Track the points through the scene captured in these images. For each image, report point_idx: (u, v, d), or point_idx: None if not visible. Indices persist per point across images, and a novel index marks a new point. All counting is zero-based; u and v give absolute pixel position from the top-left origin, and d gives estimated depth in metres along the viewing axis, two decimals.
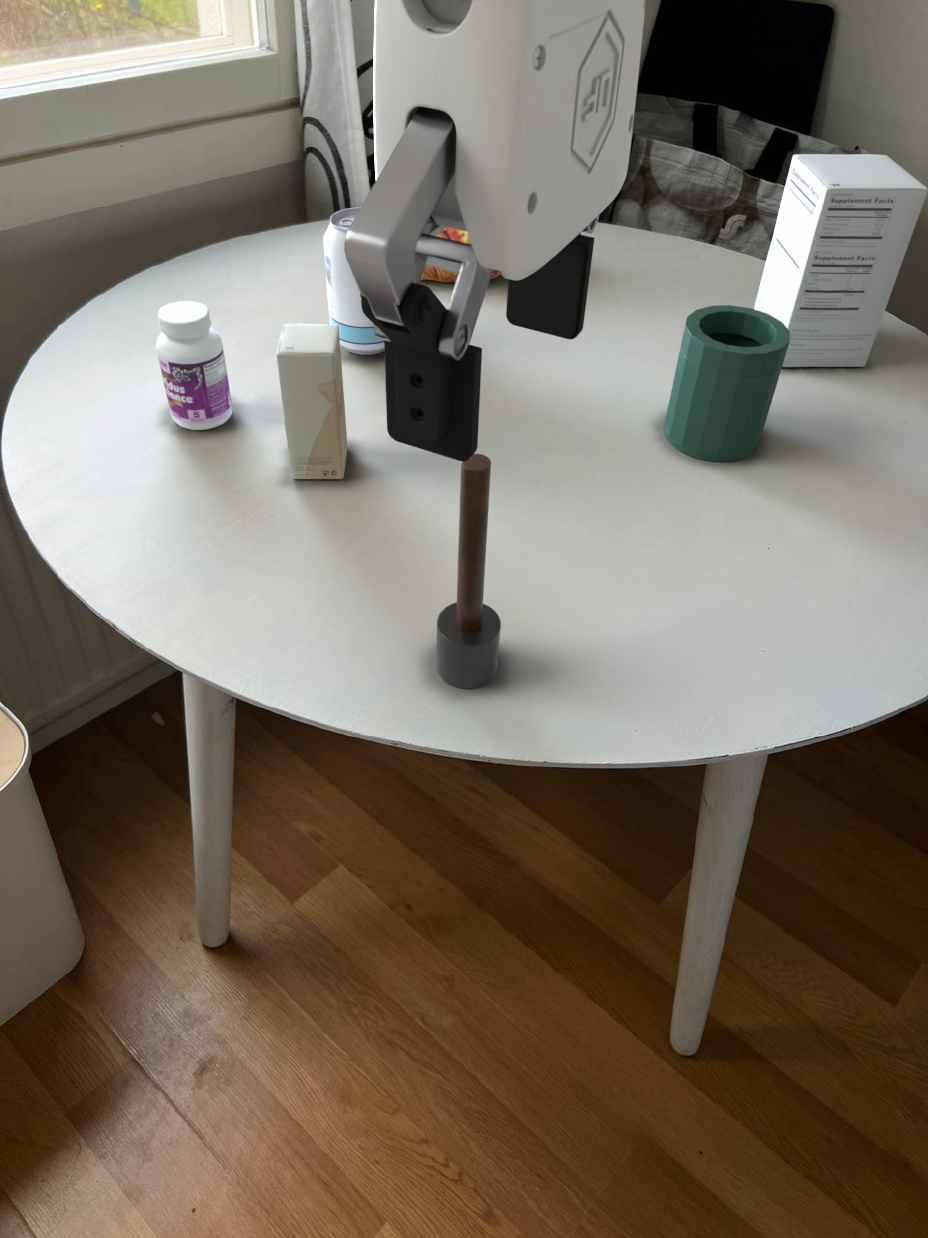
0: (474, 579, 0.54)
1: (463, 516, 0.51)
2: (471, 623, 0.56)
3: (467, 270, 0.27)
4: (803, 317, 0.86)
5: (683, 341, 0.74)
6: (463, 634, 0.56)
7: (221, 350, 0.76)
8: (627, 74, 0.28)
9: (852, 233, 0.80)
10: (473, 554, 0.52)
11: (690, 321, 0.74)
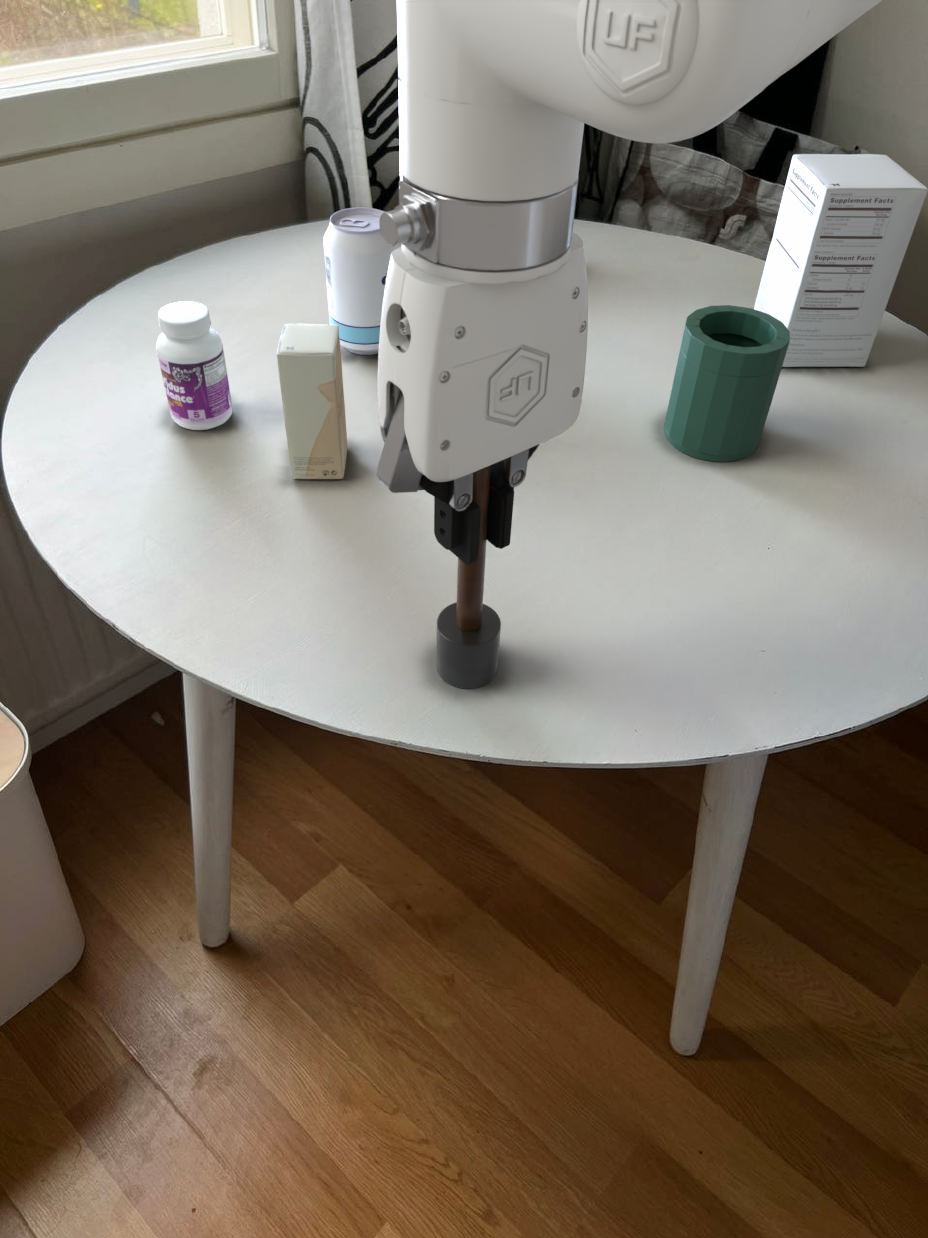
0: (474, 579, 0.54)
1: None
2: (471, 623, 0.56)
3: None
4: (803, 317, 0.86)
5: (683, 341, 0.74)
6: (463, 634, 0.56)
7: (221, 350, 0.76)
8: (560, 369, 0.44)
9: (852, 233, 0.80)
10: None
11: (690, 321, 0.74)
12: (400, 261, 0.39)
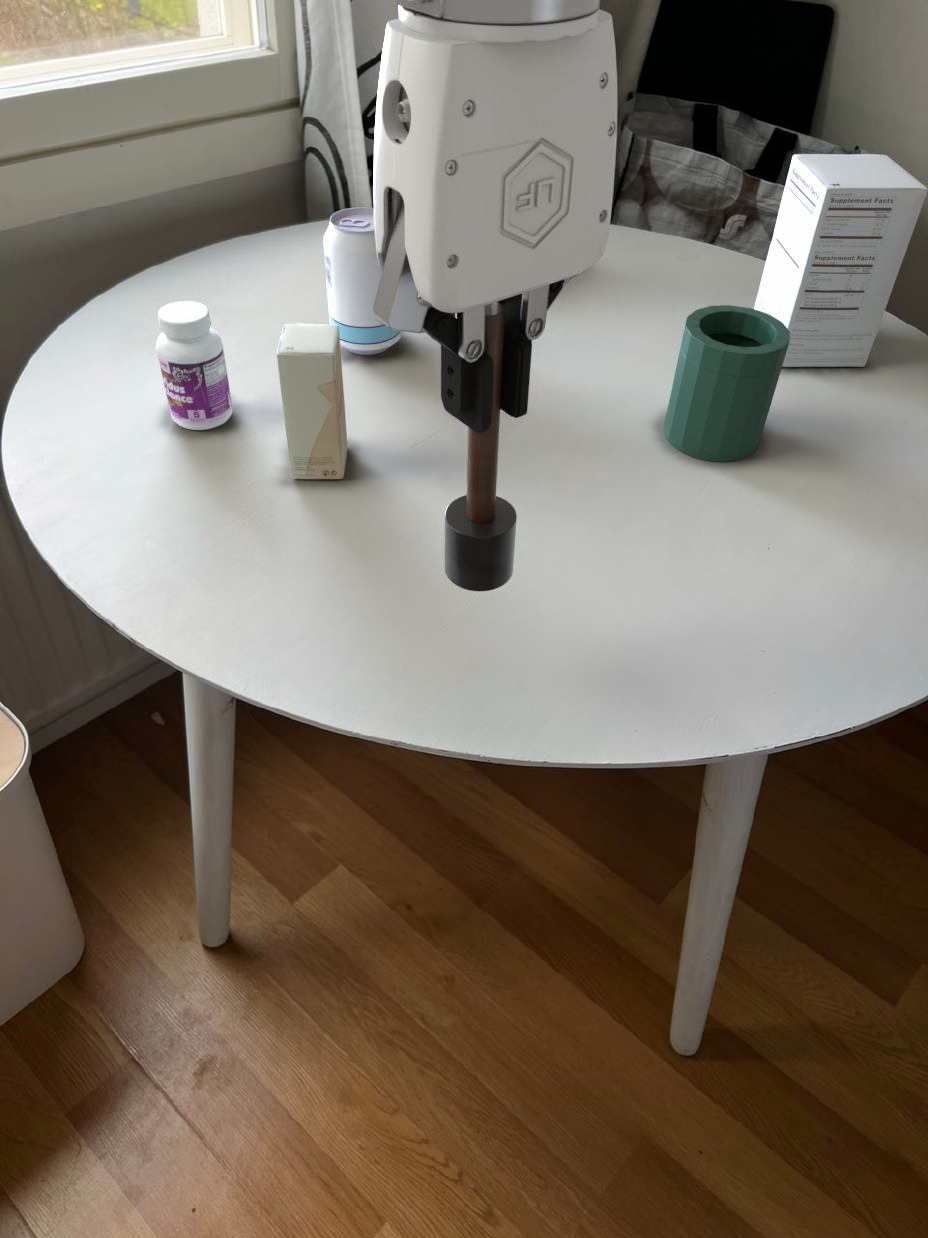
0: (486, 456, 0.47)
1: None
2: (483, 513, 0.50)
3: (459, 313, 0.40)
4: (803, 317, 0.86)
5: (683, 341, 0.74)
6: (474, 526, 0.50)
7: (221, 350, 0.76)
8: (585, 181, 0.38)
9: (852, 233, 0.80)
10: None
11: (690, 321, 0.74)
12: (398, 27, 0.33)
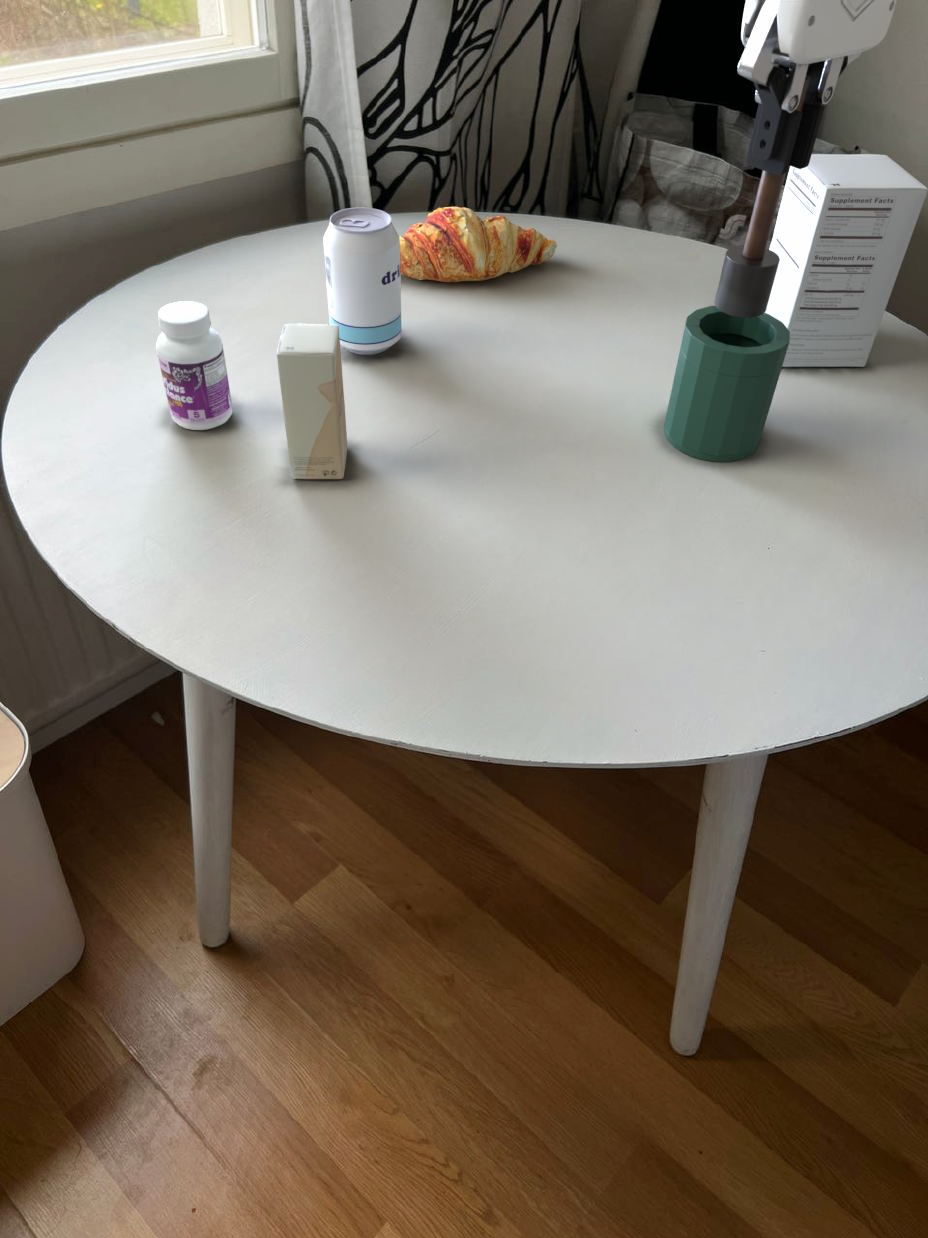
0: (772, 200, 0.66)
1: None
2: (759, 251, 0.68)
3: (792, 72, 0.58)
4: (803, 317, 0.86)
5: (683, 341, 0.74)
6: (751, 261, 0.68)
7: (221, 350, 0.76)
8: None
9: (852, 233, 0.80)
10: None
11: (690, 321, 0.74)
12: None
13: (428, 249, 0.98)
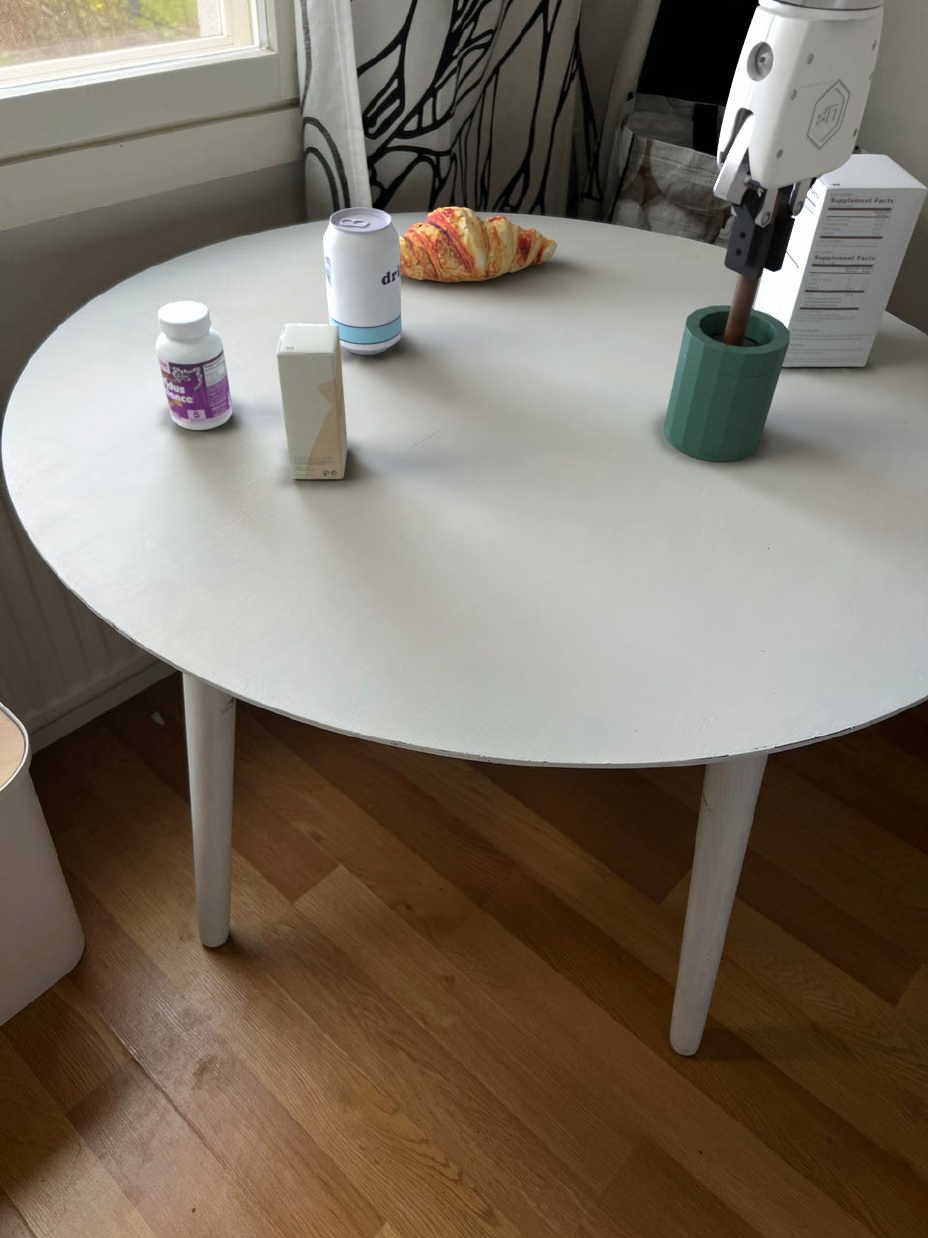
0: (748, 299, 0.71)
1: None
2: (737, 342, 0.74)
3: (763, 193, 0.64)
4: (803, 317, 0.86)
5: (683, 341, 0.74)
6: None
7: (221, 350, 0.76)
8: (852, 108, 0.62)
9: (852, 233, 0.80)
10: None
11: (690, 321, 0.74)
12: (767, 10, 0.57)
13: (428, 249, 0.98)
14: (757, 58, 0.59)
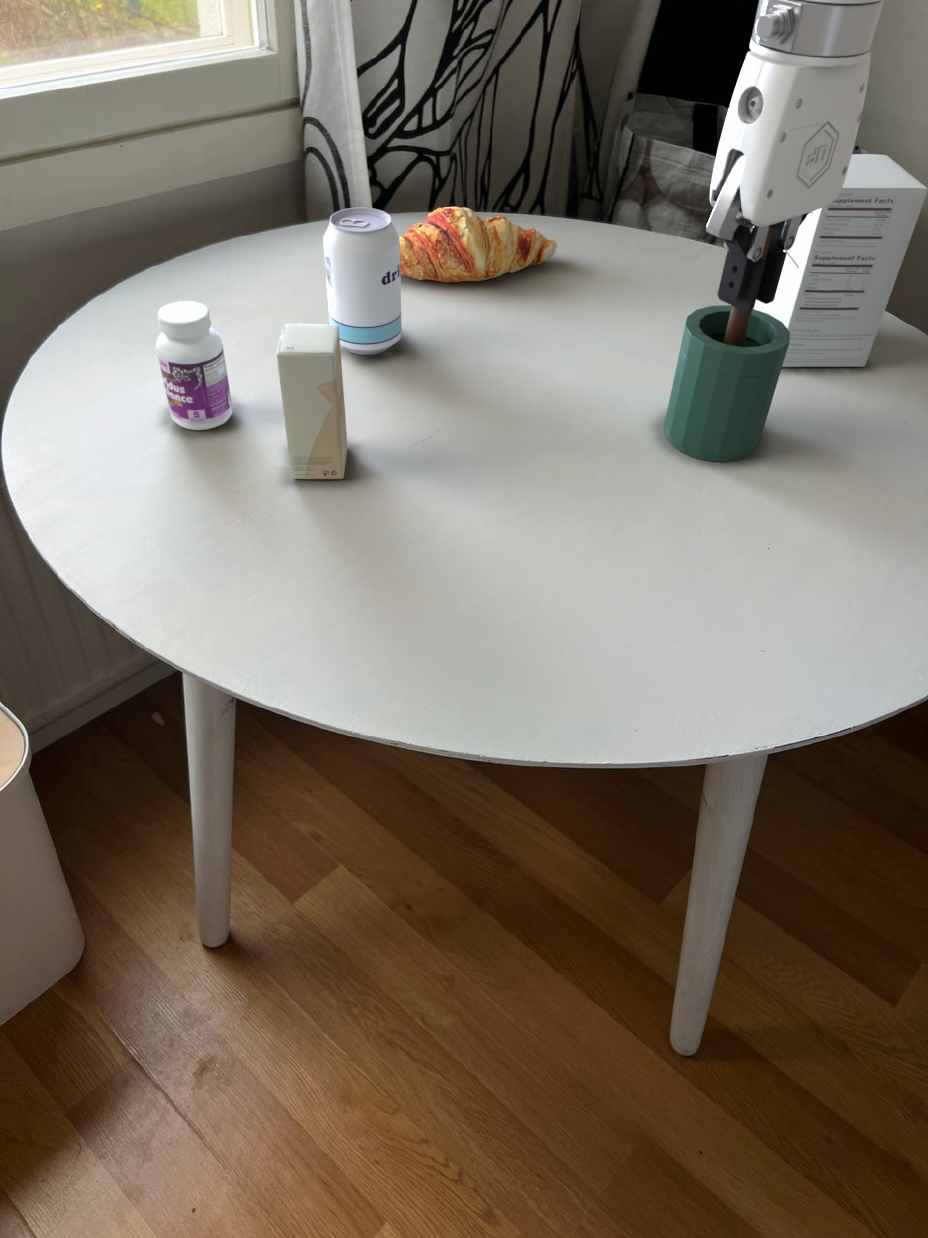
0: (741, 329, 0.73)
1: None
2: None
3: (755, 229, 0.66)
4: (803, 317, 0.86)
5: (683, 341, 0.74)
6: None
7: (221, 350, 0.76)
8: (841, 148, 0.64)
9: (852, 233, 0.80)
10: None
11: (690, 321, 0.74)
12: (757, 56, 0.59)
13: (428, 249, 0.98)
14: (748, 101, 0.61)
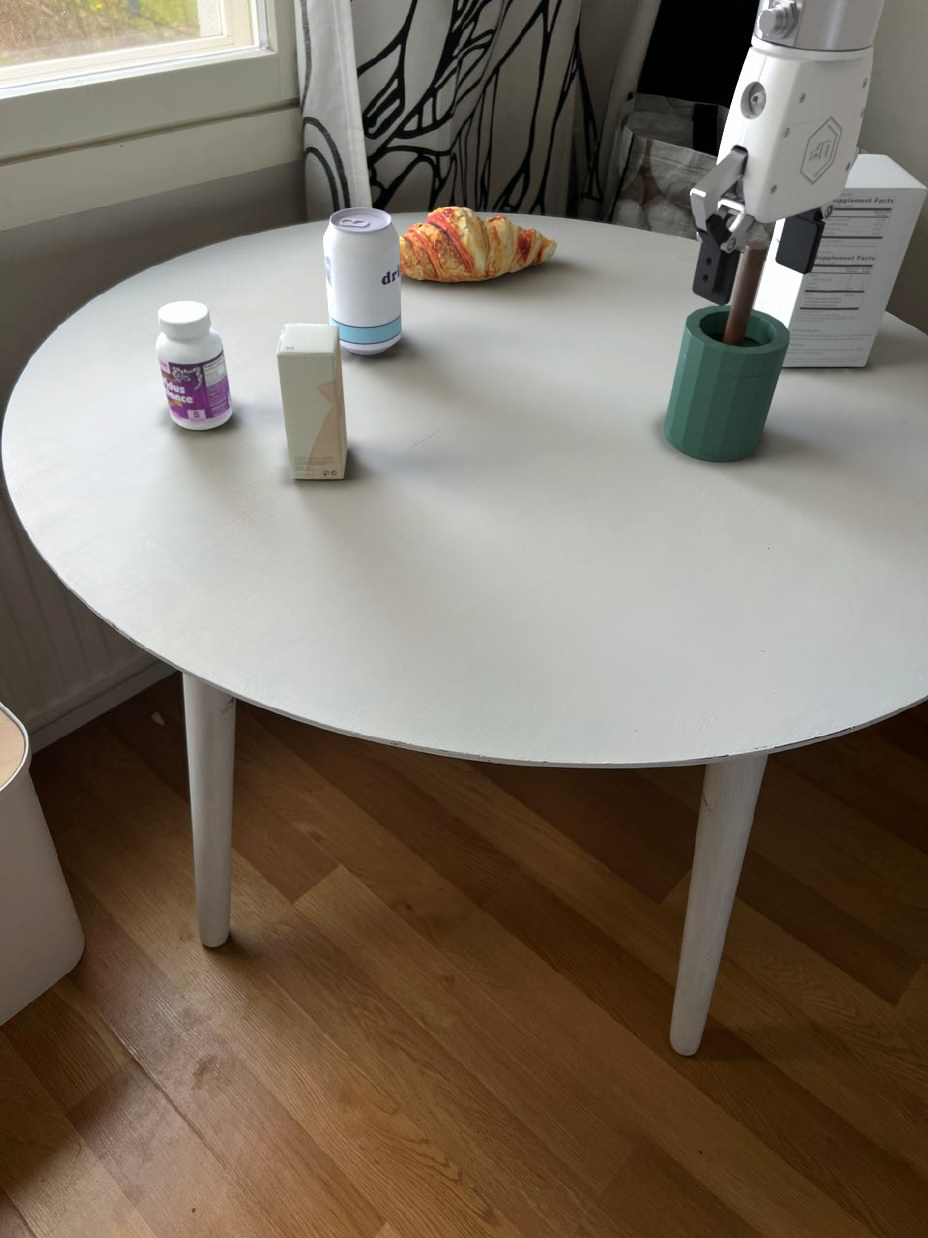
0: (737, 344, 0.74)
1: (740, 290, 0.71)
2: None
3: (741, 214, 0.63)
4: (803, 317, 0.86)
5: (683, 341, 0.74)
6: None
7: (221, 350, 0.76)
8: (844, 144, 0.63)
9: (852, 233, 0.80)
10: (741, 322, 0.72)
11: (690, 321, 0.74)
12: (760, 51, 0.58)
13: (428, 249, 0.98)
14: (750, 97, 0.60)
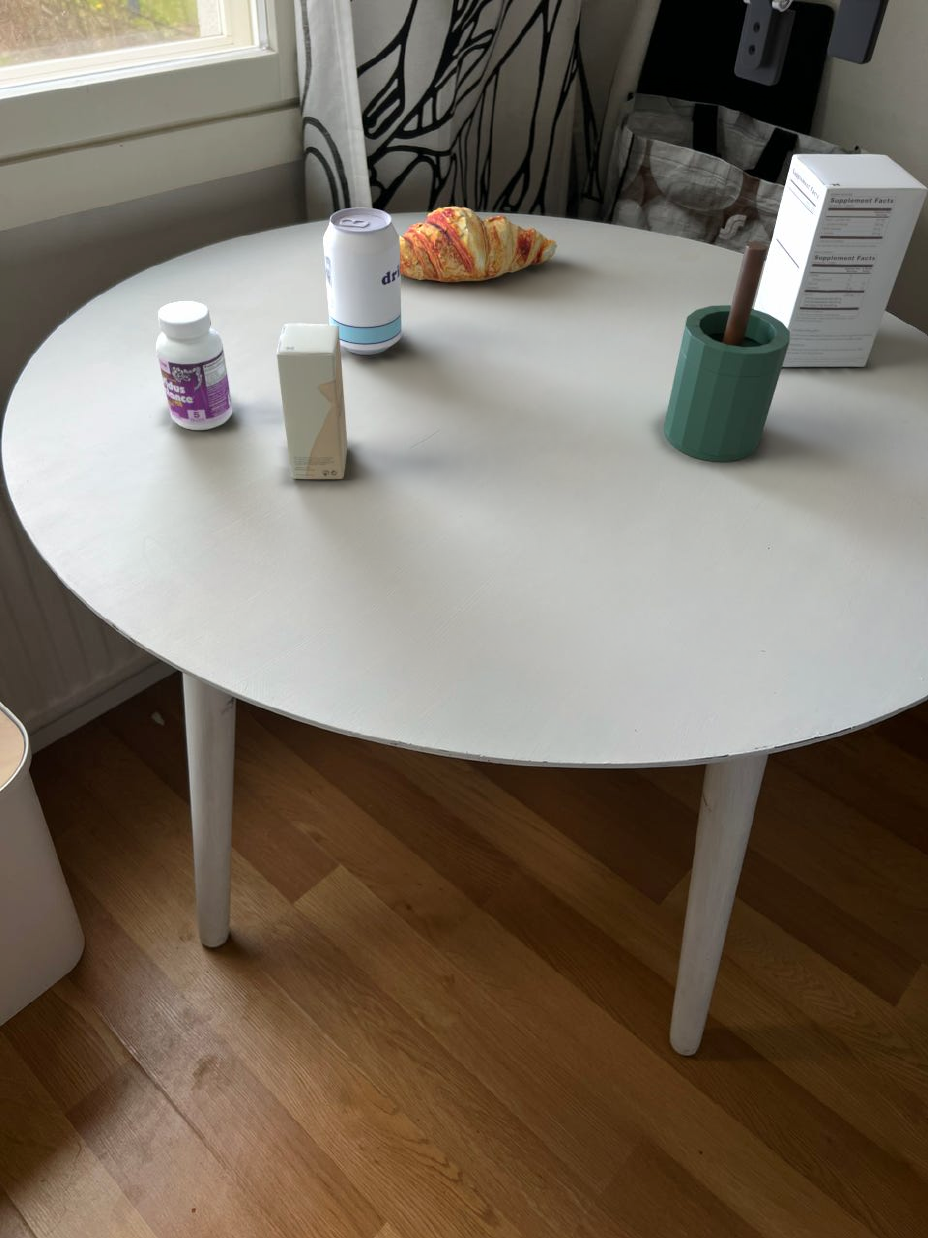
0: (737, 344, 0.74)
1: (740, 290, 0.71)
2: None
3: None
4: (803, 317, 0.86)
5: (683, 341, 0.74)
6: None
7: (221, 350, 0.76)
8: None
9: (852, 233, 0.80)
10: (741, 322, 0.72)
11: (690, 321, 0.74)
12: None
13: (428, 249, 0.98)
14: None
